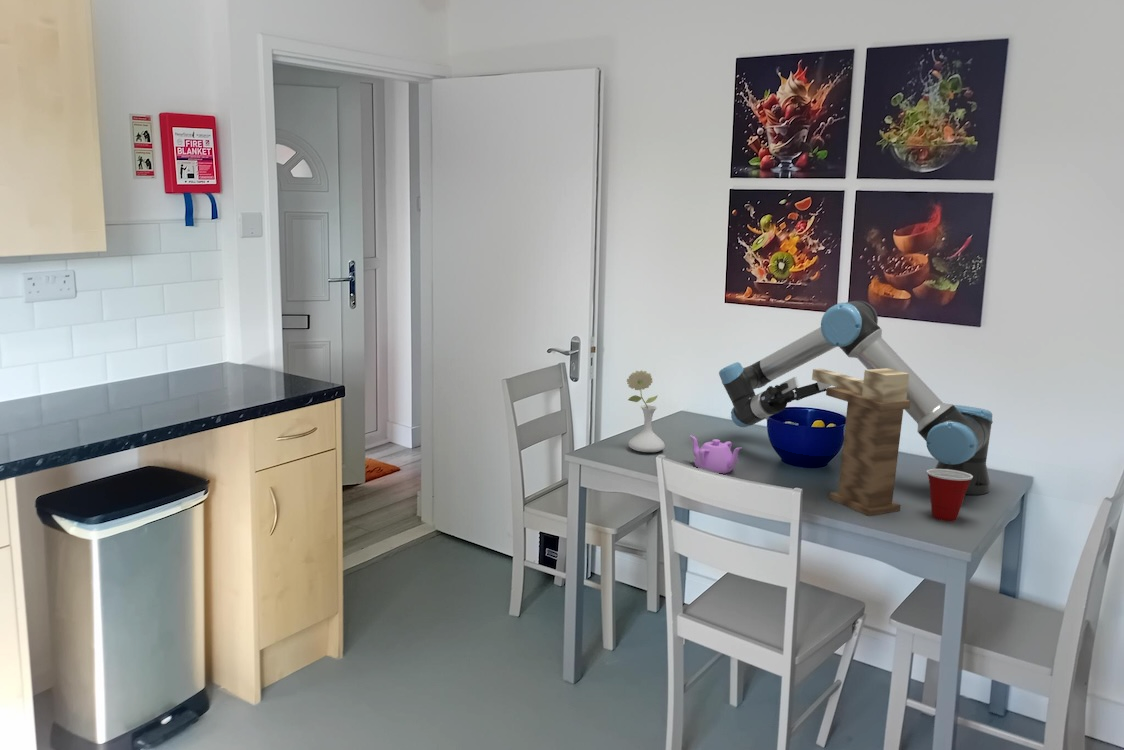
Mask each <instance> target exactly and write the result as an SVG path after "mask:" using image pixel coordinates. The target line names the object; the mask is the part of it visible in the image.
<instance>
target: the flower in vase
mask: <svg viewBox="0 0 1124 750" xmlns="http://www.w3.org/2000/svg"><path fill="white" fill-rule="evenodd" d="M626 382H627V385H628V388H630V389H632V390H634V391H640V396H639V395H631V396H630V397H629V398H628V399H627V401H631V402H634V403H638V402H640V400H642V401H643V403H644V405H641V406H640V409H641V410H642V413H643V419H644V423H643V428H642V430H641V431H640V432H638V434H636V435H634V436H633V437H632V438H631V439H629V441H628V443H627V445H628V447H629V448H630V449H633V450H634V451H637V452H639V453H640V452H641V453H657V452H661V451H663V450H664V449H665V447H666V445H665V442H664V441H663V440H662V439H661V438H660V437H659V436H658V435H657V434H656V433H654V431H653V428H652V423H653V422H652V421H653V416H654V413H655V411H656V410H657V408H658V407H657V406H656V405H653V404H650V403H653V402H654V401H656V400H657V399H658V395H655V396H652V397H648V398H647V399H646V401H645V399H644V398H643V393H642V390H645V389H648V388H650V386H651V385H652V384H653V382H654V381H653V377H652V375H651V373H648V372H647V371H646V370H644V371H643V370H636V371H635V372H632V373H631V374H630V375H628V378H626Z"/></svg>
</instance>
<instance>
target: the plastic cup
mask: <svg viewBox="0 0 1124 750" xmlns="http://www.w3.org/2000/svg"><path fill="white" fill-rule="evenodd" d="M926 474H927V477H928V483H929V492H930V493H929V494H930V496H929V497H930V505H931V506H930V508H931V516H932V517H933V518H934V519H936V520H939V521H942V522H943V521H944V522H955V521H957V518H958V516H959V514H960V511H961V508H962V505H963V502H964V499H965V496H966V494H965V493H966V490H967V488H968V485H969V483H970V481H971V479H972V478H973V476H972V475H971V474H968V473H965V472H961V471H956V470H949V469H935V468H930V469H927V470H926Z"/></svg>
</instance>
